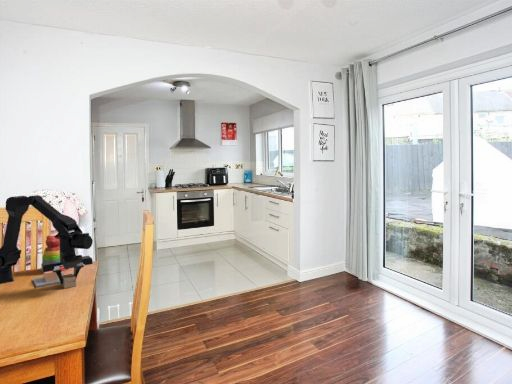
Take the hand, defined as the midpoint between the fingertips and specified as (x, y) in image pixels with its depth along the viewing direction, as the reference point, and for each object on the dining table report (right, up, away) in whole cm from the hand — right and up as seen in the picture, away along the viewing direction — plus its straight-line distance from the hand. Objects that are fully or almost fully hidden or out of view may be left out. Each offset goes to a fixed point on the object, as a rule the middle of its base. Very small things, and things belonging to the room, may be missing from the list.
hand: (68, 282), depth 139 cm
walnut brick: (0, -1, 0) cm, 1 cm away
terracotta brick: (-11, 0, +5) cm, 13 cm away
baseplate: (-11, -1, +6) cm, 13 cm away
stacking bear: (-19, 0, +20) cm, 28 cm away
